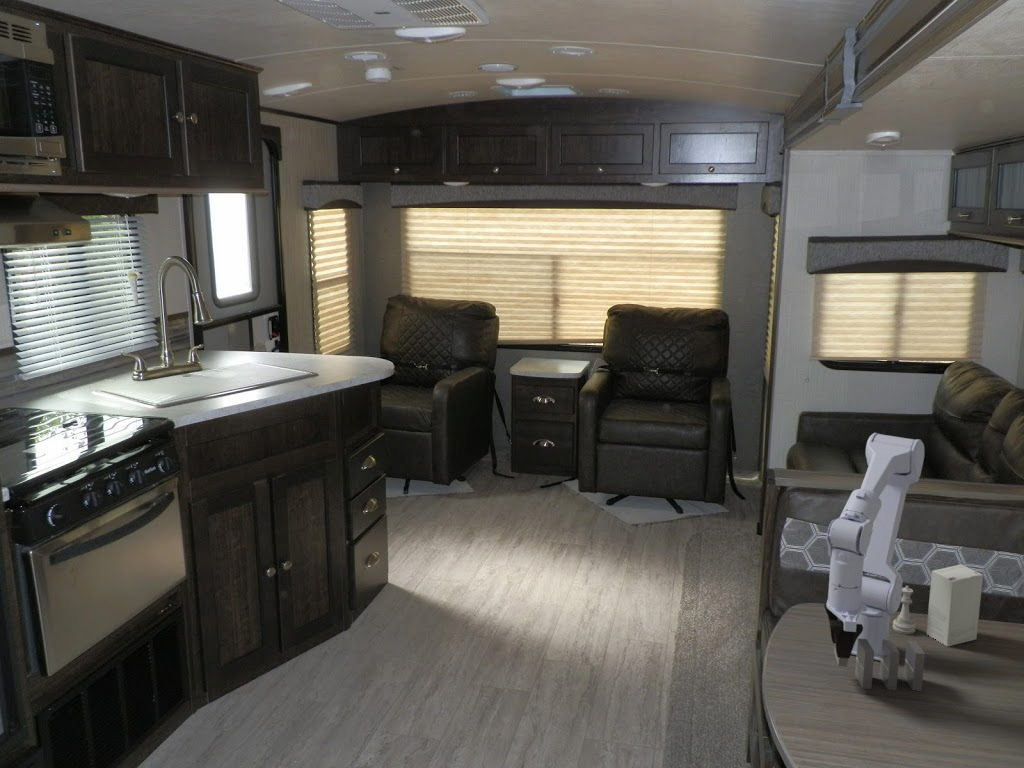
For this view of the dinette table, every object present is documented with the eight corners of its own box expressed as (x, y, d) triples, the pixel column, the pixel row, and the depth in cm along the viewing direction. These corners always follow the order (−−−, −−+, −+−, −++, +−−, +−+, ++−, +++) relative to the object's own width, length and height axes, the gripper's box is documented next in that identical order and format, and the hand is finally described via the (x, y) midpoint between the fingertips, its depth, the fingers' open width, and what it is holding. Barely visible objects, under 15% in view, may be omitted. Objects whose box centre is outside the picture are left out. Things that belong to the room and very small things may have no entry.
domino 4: (912, 690, 164) (915, 653, 162) (903, 676, 169) (906, 640, 167) (921, 691, 164) (925, 653, 162) (912, 677, 168) (915, 640, 167)
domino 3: (887, 689, 164) (890, 652, 163) (878, 675, 169) (881, 639, 168) (896, 689, 164) (899, 652, 163) (888, 676, 169) (891, 639, 167)
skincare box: (954, 628, 188) (961, 562, 185) (978, 641, 182) (985, 573, 179) (924, 635, 185) (930, 568, 182) (947, 648, 179) (953, 579, 177)
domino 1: (837, 665, 164) (841, 628, 163) (833, 652, 169) (837, 616, 168) (847, 666, 164) (851, 629, 163) (843, 653, 169) (846, 617, 167)
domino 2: (862, 688, 165) (864, 651, 163) (854, 674, 169) (857, 638, 168) (871, 688, 164) (874, 651, 163) (864, 675, 169) (866, 638, 168)
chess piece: (913, 636, 184) (917, 591, 182) (890, 631, 187) (894, 587, 185) (916, 628, 188) (920, 584, 186) (894, 623, 190) (897, 580, 188)
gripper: (876, 600, 156) (870, 671, 158) (860, 568, 170) (856, 634, 172) (834, 597, 157) (829, 667, 160) (822, 566, 171) (818, 631, 174)
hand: (840, 650), depth 166 cm, fingers closed on domino 1, 5 cm apart
